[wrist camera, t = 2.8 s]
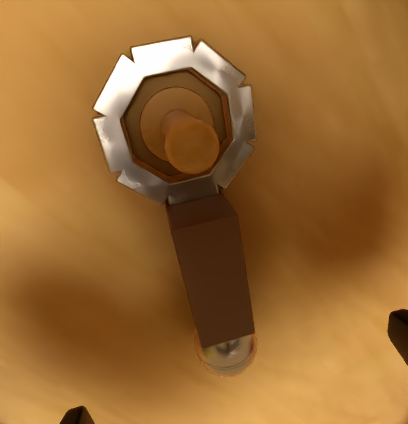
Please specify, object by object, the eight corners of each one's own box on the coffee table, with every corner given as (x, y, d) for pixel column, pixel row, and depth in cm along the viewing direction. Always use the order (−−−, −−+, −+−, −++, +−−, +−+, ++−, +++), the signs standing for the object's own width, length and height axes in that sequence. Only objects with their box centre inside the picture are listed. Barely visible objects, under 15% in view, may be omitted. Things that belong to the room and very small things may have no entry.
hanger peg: (212, 86, 11) (251, 93, 7) (212, 159, 12) (246, 199, 8) (136, 87, 10) (135, 95, 7) (143, 163, 11) (146, 207, 8)
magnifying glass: (76, 59, 10) (54, 54, 7) (237, 28, 10) (270, 13, 8) (172, 354, 16) (179, 408, 13) (271, 325, 16) (296, 372, 14)
